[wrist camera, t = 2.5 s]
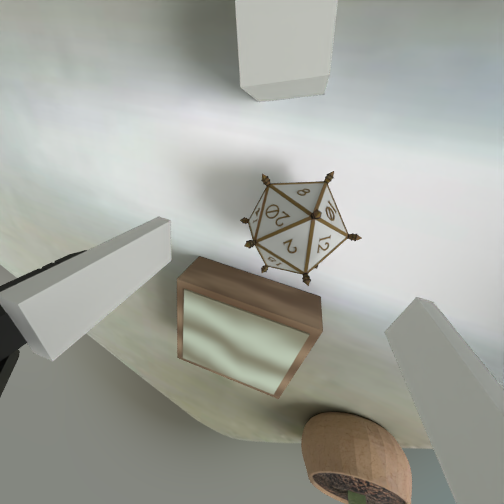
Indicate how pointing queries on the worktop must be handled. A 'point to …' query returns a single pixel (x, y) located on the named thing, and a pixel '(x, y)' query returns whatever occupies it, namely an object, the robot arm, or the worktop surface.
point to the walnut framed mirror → (244, 325)
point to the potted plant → (355, 460)
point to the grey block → (285, 47)
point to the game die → (296, 226)
